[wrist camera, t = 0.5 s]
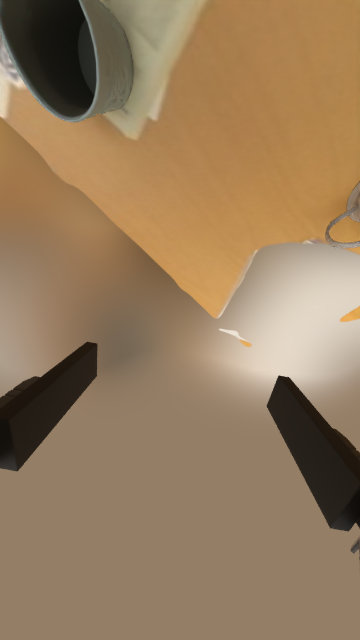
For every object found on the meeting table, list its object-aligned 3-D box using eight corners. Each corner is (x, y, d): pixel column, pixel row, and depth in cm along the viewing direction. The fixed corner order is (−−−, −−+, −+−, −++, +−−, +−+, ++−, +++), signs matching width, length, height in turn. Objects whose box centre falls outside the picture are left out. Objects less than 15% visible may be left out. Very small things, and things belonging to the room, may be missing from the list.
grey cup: (64, -29, 21) (-37, -109, 13) (146, 19, 22) (96, -29, 15) (75, 101, 29) (14, 97, 21) (135, 131, 30) (99, 138, 22)
